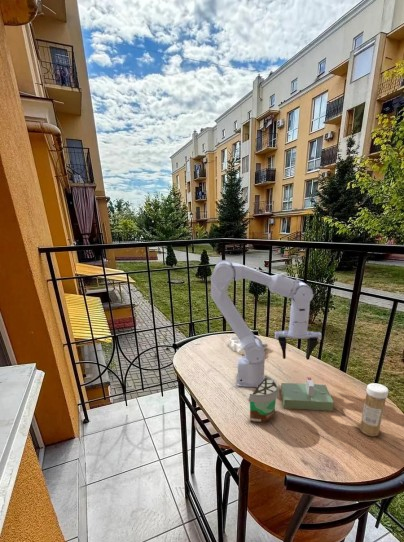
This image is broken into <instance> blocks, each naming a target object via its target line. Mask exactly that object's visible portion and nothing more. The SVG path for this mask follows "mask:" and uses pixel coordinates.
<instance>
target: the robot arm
mask: <svg viewBox="0 0 404 542" xmlns="http://www.w3.org/2000/svg"><path fill="white" fill-rule="evenodd" d="M233 279H234V281H235V282H237V281H240V280H244V279H245V280H248V281H251V282H253V283H254V282H255V283H258V284H261V285H263V286H267V287H268V290H269V292H271V293H274V294H276V295H280V296H282V297H284V298H288V299H290V298H291V304H290V312H289V324H288V325H289V326H288V330H280V331H274V339H275V340H277V341H278V344H279V346H280V348H281V352H282V359H283V360H286V358H287V357H286V356H287V354H286V353H287V344H288V343H287V339H296V340H297V339H298V340H299V339H300V340H301V339H302V340H306V351H305V352H306V353H305V358H306V360H308V361H309V360H310V358H311V355H312V352H313V351H314V350H315V348H316V347H317V346H318V344H319V341H321V340H322V333H321V331H309V330H308V327H309V316H310V308H311V307H310V304H311V301H312V300H313V298H314V296H315V293H313V289H312V288H311V286H309V285H308V284H307V283H305V282H304V281H302V280H300V279H298V278H297V279H293V278H290V277H287V274H285V273H283V272H281V273H280V274H279V273H275V274H273V275H269V274H267V273H264V272H262V271H260V270H257V269H254V268H253V267H250V266H248V265H245V264H241V263H237V262H235V261H232V262H231V261H230V260H226V259H222V260H219V261H218V262H217V263H216V264H215V265H214V269H213V271H212V274H211V276H210V297H211V299H212V301H213V302H214V304H215V305H216V307H217V309H218V310H219V311H220V313H221V315H222V316H223V317H224V319H225V321H226V322H227V323H228V325H229V326H230V328H231V330H232V331H233V333H234V334H235V335H236V337H238V338H239V340H240V342H241V344H242V347H243V349H244V350H245V353H246V354H245V355H244V356H243V357H238V358H237V372H236V379H237V386H238V387H245V388H246V387H247V388H257V387H258V385H259V384H260V383H261V382H262V381H263V380H264V376H265V362H266V360H265V359H266V358H265V357H266V352H265V349H264V350H263V346H262V339H261V338H259V337H257V336H256V335H255V334H254V332H253V331H251V329H250V327H249V326H248V324H247V323H246V322H245V319H244V318H243V317H242V315H241V314H240V311H238V309H237V307H236V306H235V304H234V303H233V300H231V298H230V297H229V294H228V288H229V286H230V285H231V282H232V281H233Z"/></svg>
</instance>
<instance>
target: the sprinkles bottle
mask: <svg viewBox="0 0 404 542" xmlns="http://www.w3.org/2000/svg"><path fill="white" fill-rule="evenodd" d="M365 392H366V393H365V394H366V395H365V400H364V404H363V410H362V414H361V422H360V425H359V430H360V431H361V432H362V434H364V435H366V436H370V437H376V436H378V435H379V434H380V429H381V425H382V421H383V416H384V409H385V406H386V401H387V397H388V395H389V388H388V387H387V386H385V385H384V384H380V383H375V382H372V383H368V384H367V386H366V390H365Z"/></svg>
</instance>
